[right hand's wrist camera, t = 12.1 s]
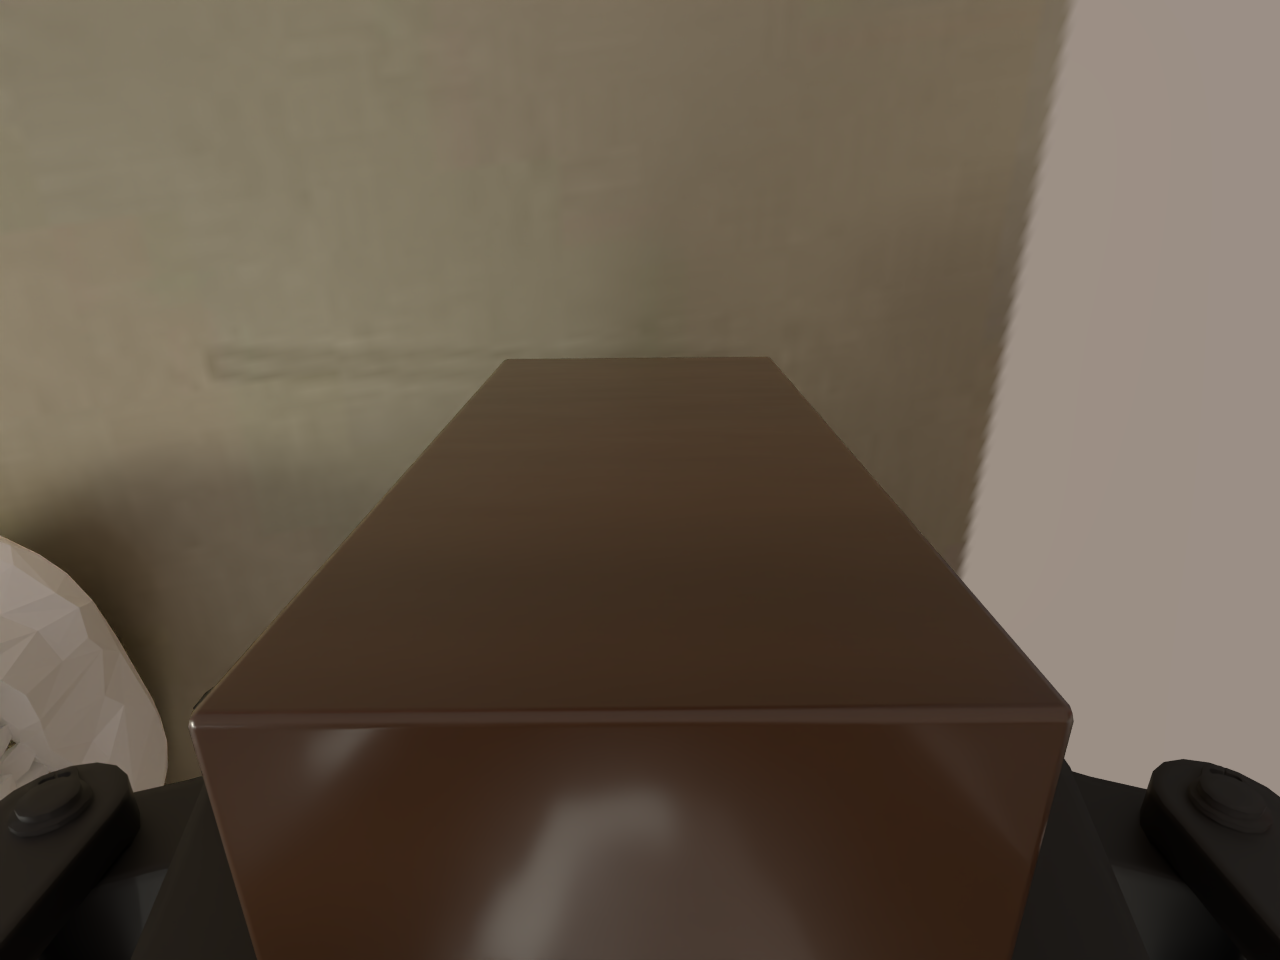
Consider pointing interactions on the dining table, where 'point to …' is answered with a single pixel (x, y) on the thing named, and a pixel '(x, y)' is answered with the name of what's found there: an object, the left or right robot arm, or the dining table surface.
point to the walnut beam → (633, 700)
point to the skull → (67, 682)
